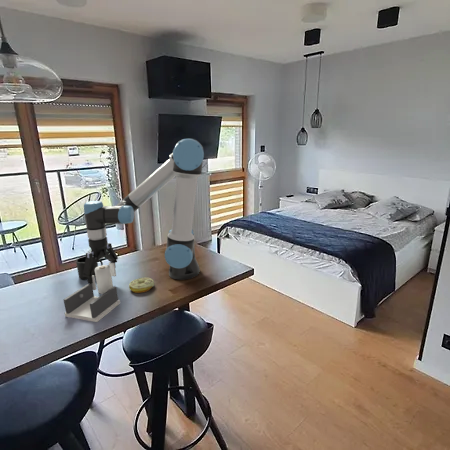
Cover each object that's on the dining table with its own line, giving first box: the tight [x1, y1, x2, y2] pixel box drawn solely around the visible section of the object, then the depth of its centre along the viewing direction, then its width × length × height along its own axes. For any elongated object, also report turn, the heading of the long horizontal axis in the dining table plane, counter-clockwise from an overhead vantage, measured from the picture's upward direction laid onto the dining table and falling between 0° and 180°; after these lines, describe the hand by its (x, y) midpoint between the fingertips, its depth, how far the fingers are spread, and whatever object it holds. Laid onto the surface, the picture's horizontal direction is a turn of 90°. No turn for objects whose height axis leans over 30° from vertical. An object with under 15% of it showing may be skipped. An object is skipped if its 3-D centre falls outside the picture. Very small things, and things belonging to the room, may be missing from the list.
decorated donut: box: [128, 276, 155, 294], centre depth 142 cm, size 10×11×4 cm
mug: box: [75, 255, 104, 281], centre depth 157 cm, size 9×12×9 cm
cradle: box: [62, 283, 121, 323], centre depth 125 cm, size 15×14×8 cm
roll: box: [95, 264, 114, 295], centre depth 140 cm, size 6×6×11 cm
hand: (103, 282), depth 141 cm, fingers open, 13 cm apart
